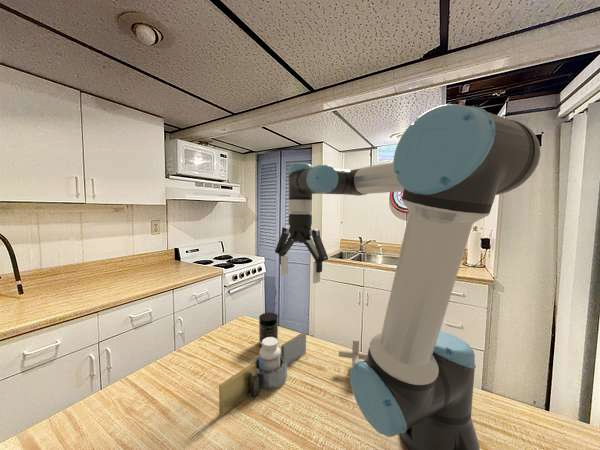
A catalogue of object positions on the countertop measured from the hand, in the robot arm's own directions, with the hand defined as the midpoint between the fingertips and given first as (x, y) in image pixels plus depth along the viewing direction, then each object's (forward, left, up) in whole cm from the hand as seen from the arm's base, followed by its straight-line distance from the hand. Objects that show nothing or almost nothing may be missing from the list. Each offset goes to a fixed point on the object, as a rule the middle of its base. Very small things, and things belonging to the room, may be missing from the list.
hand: (299, 278), depth 81 cm
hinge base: (0, +9, -27) cm, 28 cm away
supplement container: (+13, +2, -27) cm, 30 cm away
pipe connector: (-18, -5, -27) cm, 33 cm away
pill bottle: (0, +14, -27) cm, 30 cm away
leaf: (-1, +25, -26) cm, 36 cm away
